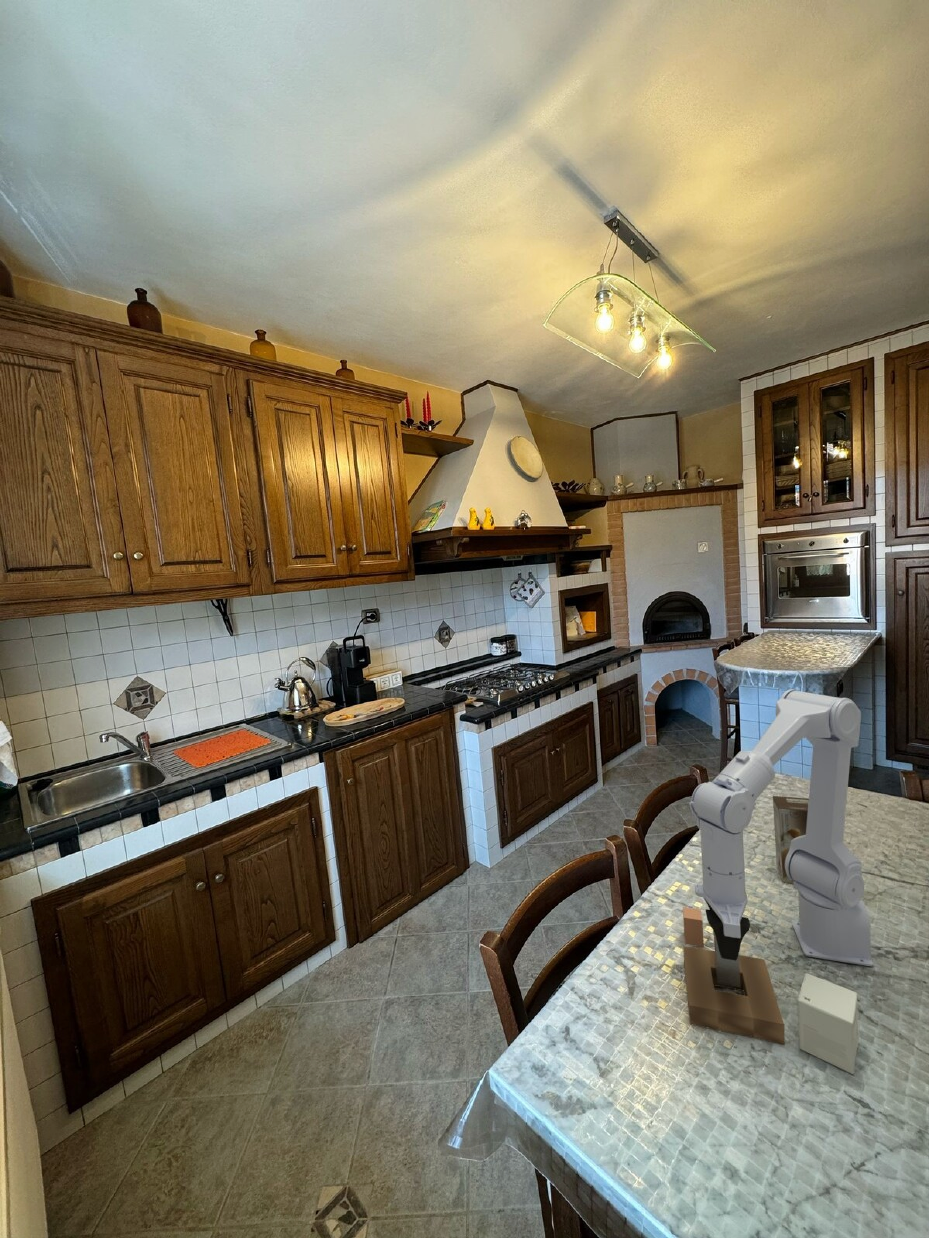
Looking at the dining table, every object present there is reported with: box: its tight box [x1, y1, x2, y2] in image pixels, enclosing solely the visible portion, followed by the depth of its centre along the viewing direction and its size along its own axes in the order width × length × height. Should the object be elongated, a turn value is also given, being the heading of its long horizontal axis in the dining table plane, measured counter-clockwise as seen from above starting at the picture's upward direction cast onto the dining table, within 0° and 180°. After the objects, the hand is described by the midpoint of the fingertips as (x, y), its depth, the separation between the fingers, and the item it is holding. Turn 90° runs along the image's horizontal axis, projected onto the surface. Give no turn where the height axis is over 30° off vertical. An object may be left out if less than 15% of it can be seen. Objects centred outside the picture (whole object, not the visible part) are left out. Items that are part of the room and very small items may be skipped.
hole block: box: [682, 945, 786, 1045], centre depth 76 cm, size 12×12×3 cm
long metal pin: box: [712, 909, 740, 987], centre depth 75 cm, size 3×3×10 cm
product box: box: [797, 972, 860, 1075], centre depth 67 cm, size 6×6×7 cm
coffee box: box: [772, 795, 809, 885], centre depth 102 cm, size 9×6×16 cm
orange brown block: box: [682, 906, 705, 948], centre depth 88 cm, size 3×3×5 cm
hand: (726, 948), depth 75 cm, fingers closed on long metal pin, 3 cm apart
